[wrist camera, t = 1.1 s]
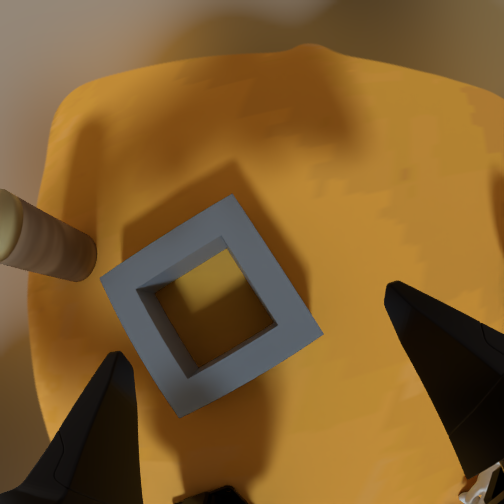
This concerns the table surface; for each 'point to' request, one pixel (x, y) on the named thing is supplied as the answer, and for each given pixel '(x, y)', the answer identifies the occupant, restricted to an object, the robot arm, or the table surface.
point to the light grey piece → (478, 487)
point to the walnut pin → (42, 242)
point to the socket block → (163, 333)
